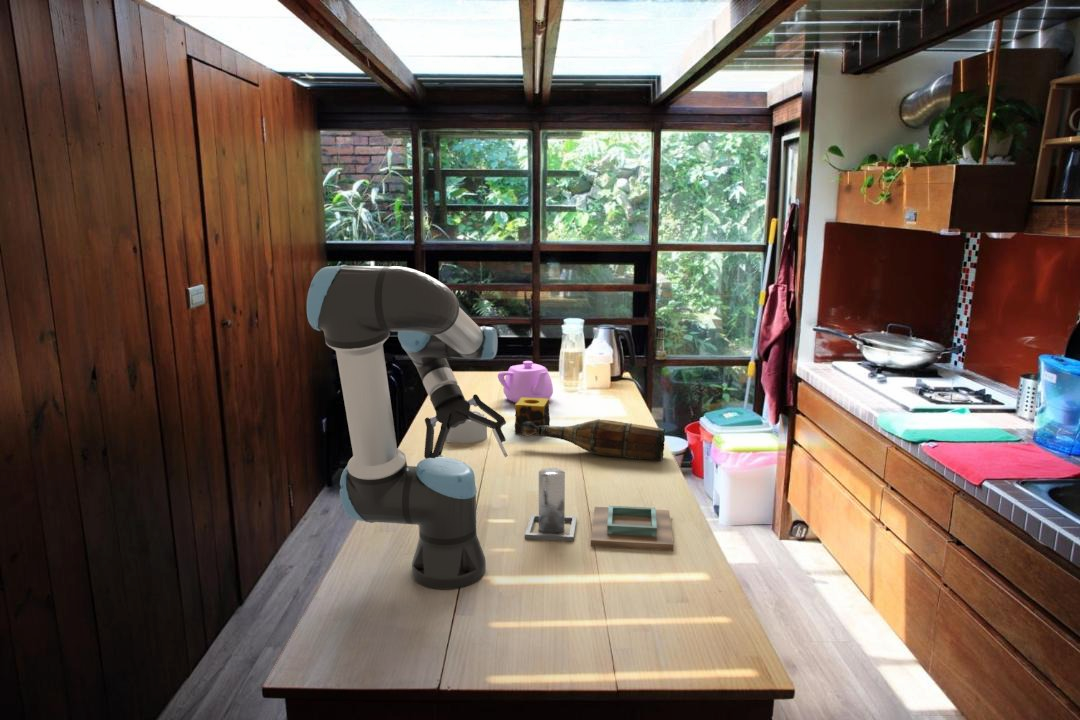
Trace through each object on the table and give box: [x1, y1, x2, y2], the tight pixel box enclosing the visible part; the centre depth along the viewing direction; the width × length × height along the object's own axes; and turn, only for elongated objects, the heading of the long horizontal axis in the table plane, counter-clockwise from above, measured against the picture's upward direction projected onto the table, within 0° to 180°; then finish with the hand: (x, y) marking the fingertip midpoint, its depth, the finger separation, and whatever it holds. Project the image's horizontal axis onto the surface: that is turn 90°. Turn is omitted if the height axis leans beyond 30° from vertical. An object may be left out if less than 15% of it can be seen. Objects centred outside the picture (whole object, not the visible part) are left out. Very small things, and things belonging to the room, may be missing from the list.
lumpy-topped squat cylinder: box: [445, 409, 488, 444], centre depth 235 cm, size 10×13×9 cm
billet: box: [538, 467, 566, 534], centre depth 170 cm, size 6×6×14 cm
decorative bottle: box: [520, 418, 666, 461], centre depth 221 cm, size 11×11×45 cm
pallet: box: [590, 505, 674, 552], centre depth 170 cm, size 18×18×4 cm
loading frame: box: [524, 513, 578, 542], centre depth 171 cm, size 11×11×1 cm
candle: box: [514, 397, 551, 436], centre depth 243 cm, size 10×10×10 cm
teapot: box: [497, 360, 554, 404], centre depth 275 cm, size 23×21×15 cm
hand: (478, 468), depth 167 cm, fingers open, 13 cm apart
